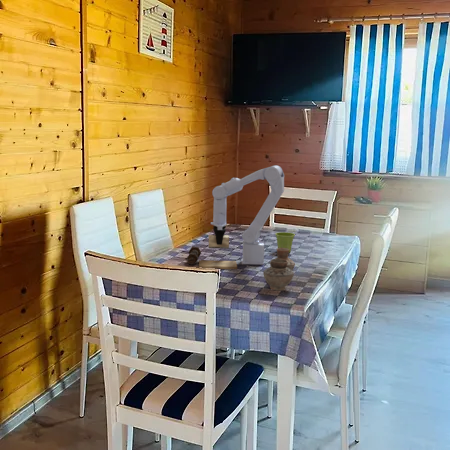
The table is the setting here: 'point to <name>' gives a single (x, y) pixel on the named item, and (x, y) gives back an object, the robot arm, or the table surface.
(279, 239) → the plant pot
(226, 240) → the block
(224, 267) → the board
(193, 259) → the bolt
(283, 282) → the pottery
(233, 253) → the table surface
